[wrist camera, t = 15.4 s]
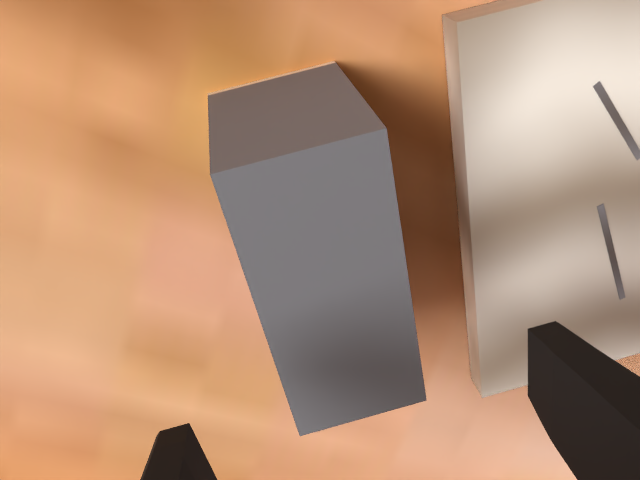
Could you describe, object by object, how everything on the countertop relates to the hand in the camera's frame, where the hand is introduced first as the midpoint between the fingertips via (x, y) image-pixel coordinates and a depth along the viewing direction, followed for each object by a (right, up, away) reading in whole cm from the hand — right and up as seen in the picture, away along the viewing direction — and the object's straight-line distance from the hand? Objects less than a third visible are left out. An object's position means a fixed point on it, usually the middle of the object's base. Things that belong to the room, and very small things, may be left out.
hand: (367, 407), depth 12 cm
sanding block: (-2, +5, +8) cm, 10 cm away
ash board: (+11, +5, +10) cm, 16 cm away
